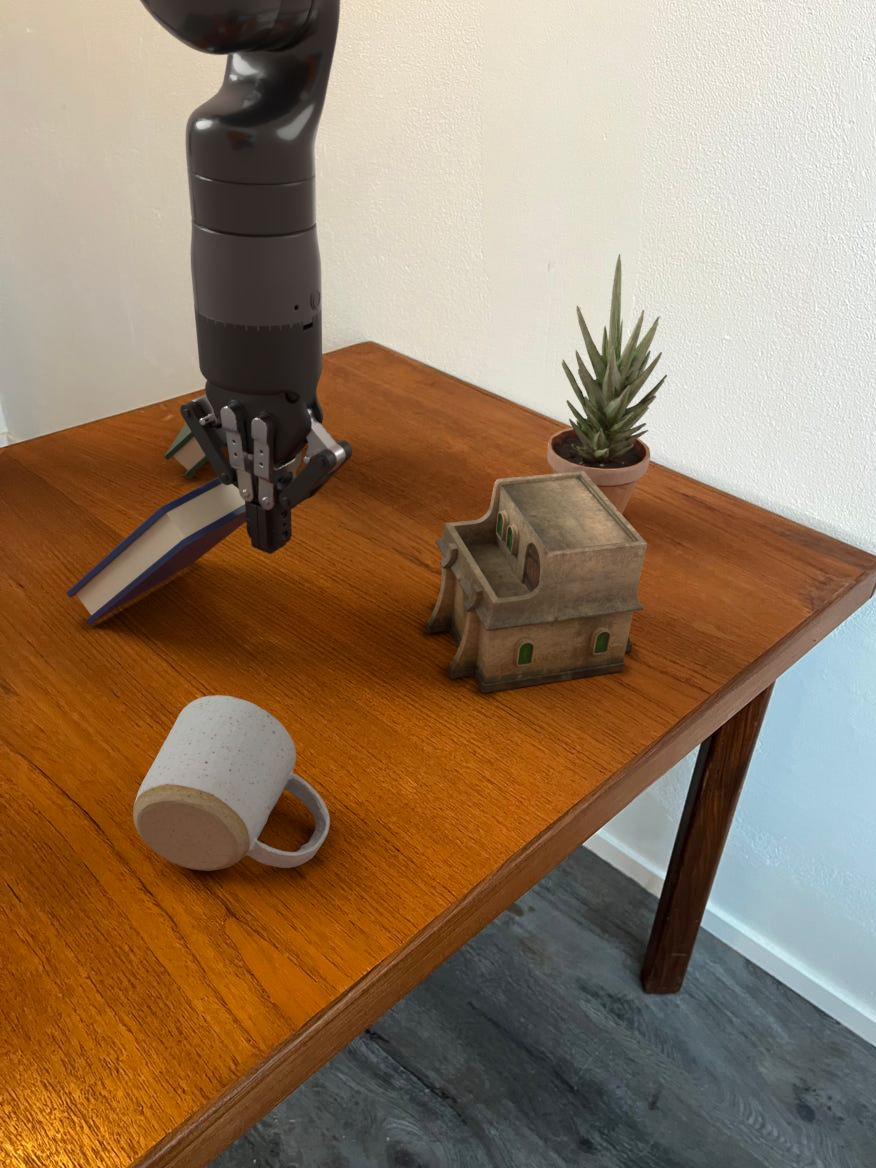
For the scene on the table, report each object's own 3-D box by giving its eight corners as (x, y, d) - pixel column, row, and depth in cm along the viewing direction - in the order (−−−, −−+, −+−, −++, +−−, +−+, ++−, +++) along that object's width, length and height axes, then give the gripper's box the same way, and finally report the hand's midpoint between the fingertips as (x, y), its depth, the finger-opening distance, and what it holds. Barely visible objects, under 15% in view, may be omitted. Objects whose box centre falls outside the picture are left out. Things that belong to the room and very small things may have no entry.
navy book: (293, 484, 74) (269, 450, 74) (186, 545, 66) (159, 507, 66) (191, 564, 85) (170, 534, 85) (89, 625, 77) (65, 592, 77)
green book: (321, 334, 100) (299, 311, 98) (302, 376, 91) (277, 351, 89) (215, 430, 106) (193, 410, 105) (188, 478, 97) (163, 457, 96)
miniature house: (573, 574, 89) (592, 456, 82) (645, 671, 78) (673, 544, 72) (409, 595, 84) (415, 471, 77) (462, 700, 74) (473, 568, 67)
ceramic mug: (130, 868, 59) (115, 773, 54) (184, 773, 65) (174, 681, 61) (307, 901, 58) (306, 808, 54) (344, 801, 65) (346, 711, 60)
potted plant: (560, 483, 103) (596, 231, 88) (649, 508, 100) (701, 252, 85) (522, 524, 95) (554, 256, 81) (617, 553, 92) (667, 280, 78)
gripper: (130, 287, 60) (160, 538, 70) (306, 343, 55) (311, 603, 66) (217, 261, 65) (234, 497, 76) (385, 310, 61) (378, 555, 71)
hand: (270, 546), depth 71 cm, fingers closed
